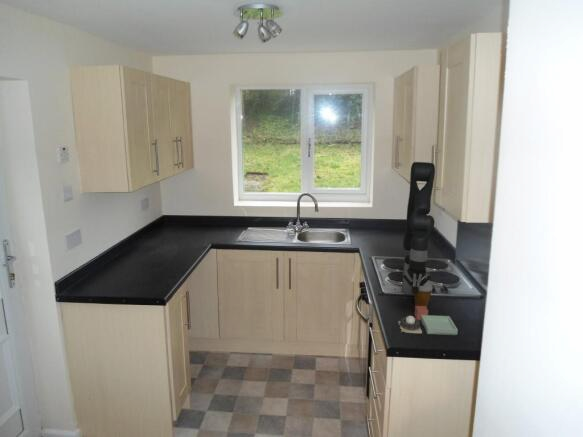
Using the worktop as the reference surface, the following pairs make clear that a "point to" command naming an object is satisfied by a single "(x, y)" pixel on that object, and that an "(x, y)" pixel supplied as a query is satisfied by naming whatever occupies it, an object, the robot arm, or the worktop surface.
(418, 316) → the cube
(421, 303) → the disposable coffee cup
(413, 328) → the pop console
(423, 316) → the tray
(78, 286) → the worktop surface
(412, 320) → the dome
